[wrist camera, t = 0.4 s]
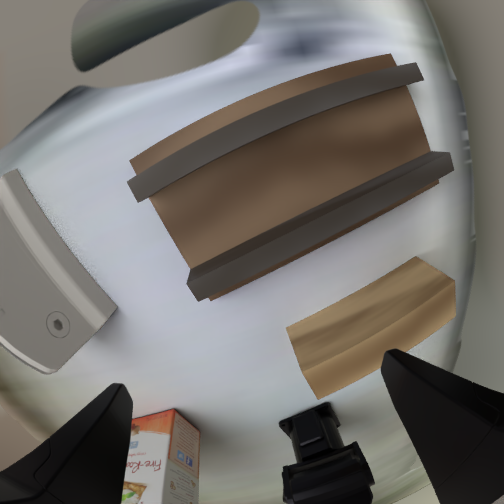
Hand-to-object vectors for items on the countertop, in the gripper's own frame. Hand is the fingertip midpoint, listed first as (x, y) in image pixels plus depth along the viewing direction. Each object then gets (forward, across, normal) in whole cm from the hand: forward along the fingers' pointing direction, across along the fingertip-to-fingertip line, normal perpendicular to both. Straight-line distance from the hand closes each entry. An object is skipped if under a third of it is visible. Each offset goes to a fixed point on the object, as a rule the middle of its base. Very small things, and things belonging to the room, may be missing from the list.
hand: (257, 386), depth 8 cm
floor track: (+13, -6, -6) cm, 16 cm away
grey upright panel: (+14, +18, -1) cm, 23 cm away
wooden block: (+14, -11, +7) cm, 19 cm away
